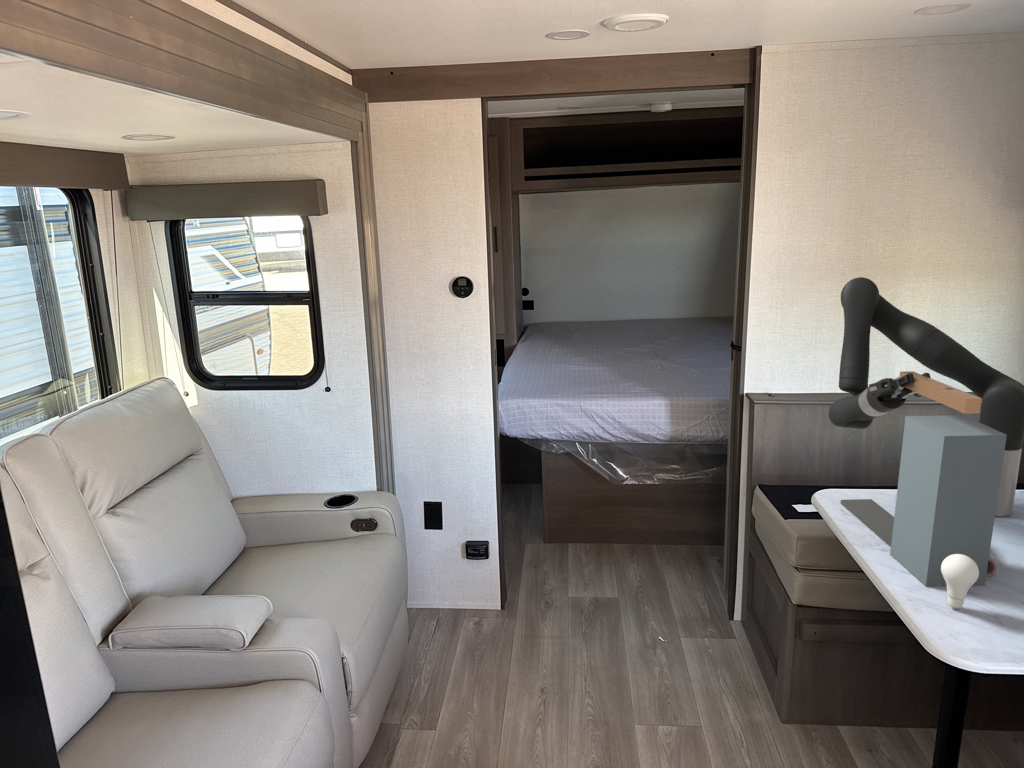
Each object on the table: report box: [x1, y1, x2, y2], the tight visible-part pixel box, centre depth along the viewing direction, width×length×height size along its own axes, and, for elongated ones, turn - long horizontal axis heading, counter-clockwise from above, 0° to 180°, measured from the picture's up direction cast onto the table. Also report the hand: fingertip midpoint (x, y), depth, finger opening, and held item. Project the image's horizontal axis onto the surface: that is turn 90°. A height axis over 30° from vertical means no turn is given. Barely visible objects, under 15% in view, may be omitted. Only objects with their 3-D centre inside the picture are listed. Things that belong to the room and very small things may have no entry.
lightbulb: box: [941, 554, 979, 610], centre depth 137 cm, size 6×6×11 cm
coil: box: [986, 553, 998, 579], centre depth 157 cm, size 5×5×18 cm
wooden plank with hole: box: [898, 370, 982, 415], centre depth 151 cm, size 24×3×3 cm, turn 1°
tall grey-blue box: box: [889, 414, 1007, 588], centre depth 149 cm, size 14×12×32 cm
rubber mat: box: [840, 498, 894, 548], centre depth 175 cm, size 26×8×1 cm, turn 0°
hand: (920, 377), depth 157 cm, fingers closed on wooden plank with hole, 3 cm apart
